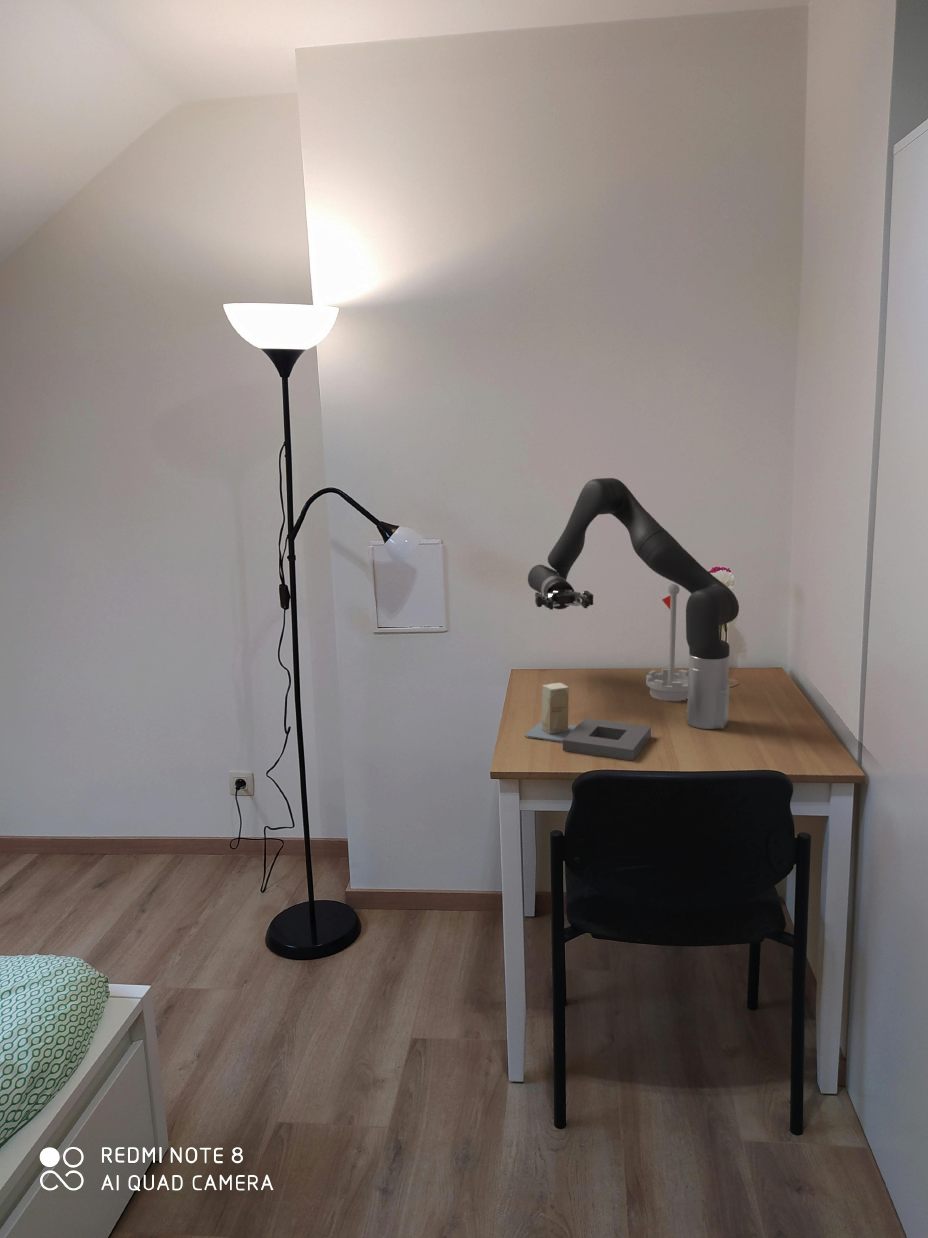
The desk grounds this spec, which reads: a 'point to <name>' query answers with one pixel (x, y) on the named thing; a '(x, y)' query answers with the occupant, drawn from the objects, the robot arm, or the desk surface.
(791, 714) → the desk surface
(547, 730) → the box
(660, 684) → the flag stand
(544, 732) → the pad
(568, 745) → the socket block
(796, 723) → the desk surface
